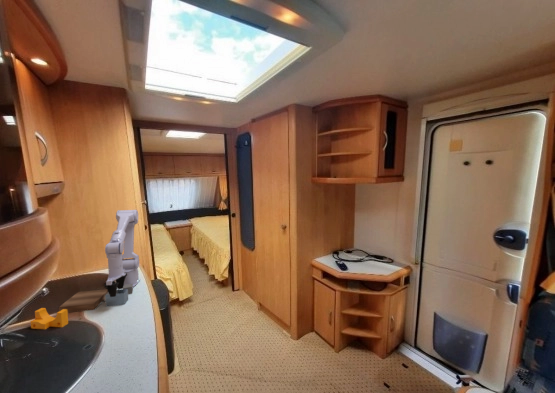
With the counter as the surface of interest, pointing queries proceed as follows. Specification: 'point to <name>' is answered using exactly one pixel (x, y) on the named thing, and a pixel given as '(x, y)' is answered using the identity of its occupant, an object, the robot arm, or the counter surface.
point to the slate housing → (117, 298)
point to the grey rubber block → (129, 288)
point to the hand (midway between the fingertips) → (116, 292)
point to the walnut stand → (84, 301)
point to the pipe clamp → (49, 319)
